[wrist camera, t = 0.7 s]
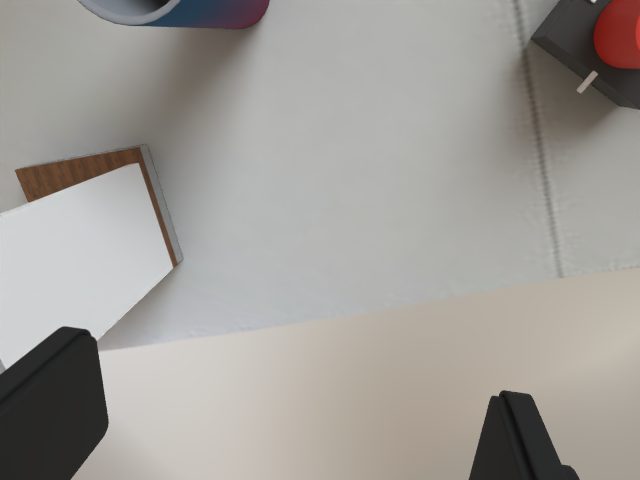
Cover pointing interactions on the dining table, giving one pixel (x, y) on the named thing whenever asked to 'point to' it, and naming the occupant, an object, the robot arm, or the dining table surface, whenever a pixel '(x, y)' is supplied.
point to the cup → (180, 12)
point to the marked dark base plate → (586, 50)
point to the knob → (619, 34)
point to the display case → (81, 247)
